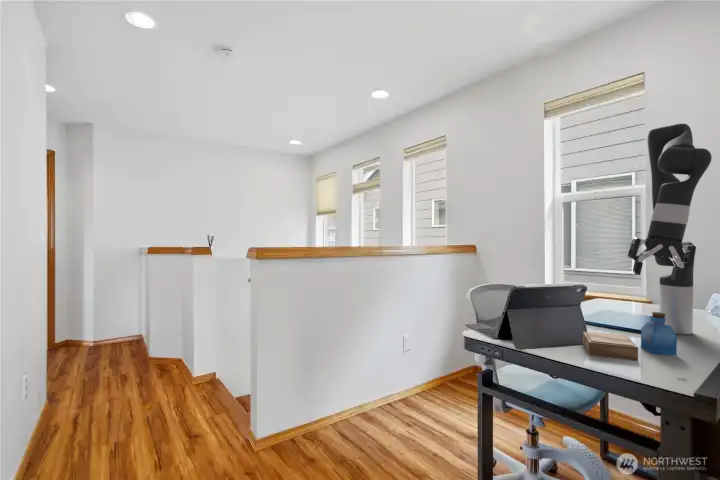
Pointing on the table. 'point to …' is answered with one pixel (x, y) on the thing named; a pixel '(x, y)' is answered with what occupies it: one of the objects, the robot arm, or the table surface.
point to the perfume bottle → (658, 336)
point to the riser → (610, 346)
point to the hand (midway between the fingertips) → (654, 277)
